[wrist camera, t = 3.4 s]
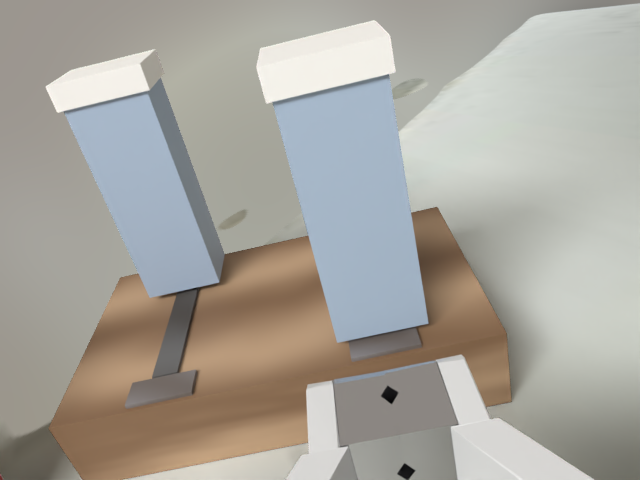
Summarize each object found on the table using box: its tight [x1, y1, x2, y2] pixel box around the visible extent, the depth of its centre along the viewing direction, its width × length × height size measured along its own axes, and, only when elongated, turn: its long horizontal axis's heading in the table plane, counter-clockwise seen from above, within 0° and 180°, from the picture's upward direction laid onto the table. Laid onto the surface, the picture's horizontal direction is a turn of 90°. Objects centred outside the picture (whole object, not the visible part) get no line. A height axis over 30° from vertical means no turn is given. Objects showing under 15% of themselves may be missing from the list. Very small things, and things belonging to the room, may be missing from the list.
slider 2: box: [256, 20, 429, 343], centre depth 22 cm, size 3×4×12 cm
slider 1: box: [46, 49, 225, 298], centre depth 29 cm, size 3×4×12 cm
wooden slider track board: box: [48, 207, 511, 480], centre depth 30 cm, size 12×20×4 cm, turn 93°
